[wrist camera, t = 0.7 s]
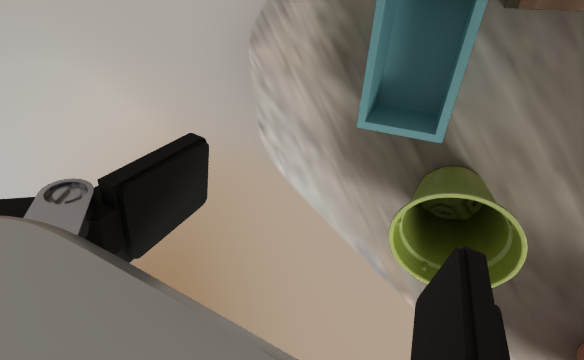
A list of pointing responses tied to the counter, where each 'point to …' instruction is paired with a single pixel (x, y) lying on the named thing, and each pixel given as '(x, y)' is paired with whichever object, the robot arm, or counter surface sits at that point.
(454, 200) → the plant pot
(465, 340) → the robot arm
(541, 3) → the crate large
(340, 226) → the counter surface
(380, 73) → the box
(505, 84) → the counter surface
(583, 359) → the potted plant
